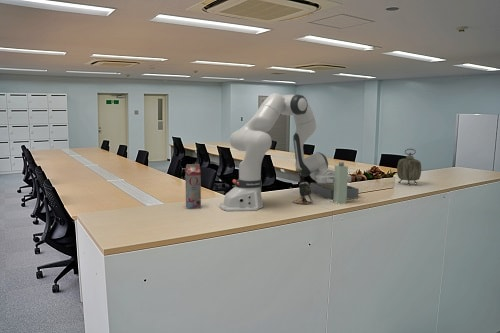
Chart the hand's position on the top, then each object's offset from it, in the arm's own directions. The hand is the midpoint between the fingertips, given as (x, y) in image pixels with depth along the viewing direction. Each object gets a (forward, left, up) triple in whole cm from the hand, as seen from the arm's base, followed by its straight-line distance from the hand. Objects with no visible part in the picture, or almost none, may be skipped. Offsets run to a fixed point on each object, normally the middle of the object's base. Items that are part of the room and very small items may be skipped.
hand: (340, 181), depth 210 cm
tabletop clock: (+76, +36, -12) cm, 85 cm away
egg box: (+6, +23, -11) cm, 26 cm away
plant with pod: (-20, +4, -12) cm, 24 cm away
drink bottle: (0, 0, -12) cm, 12 cm away
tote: (+6, +17, -12) cm, 22 cm away
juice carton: (-78, +11, -12) cm, 80 cm away
